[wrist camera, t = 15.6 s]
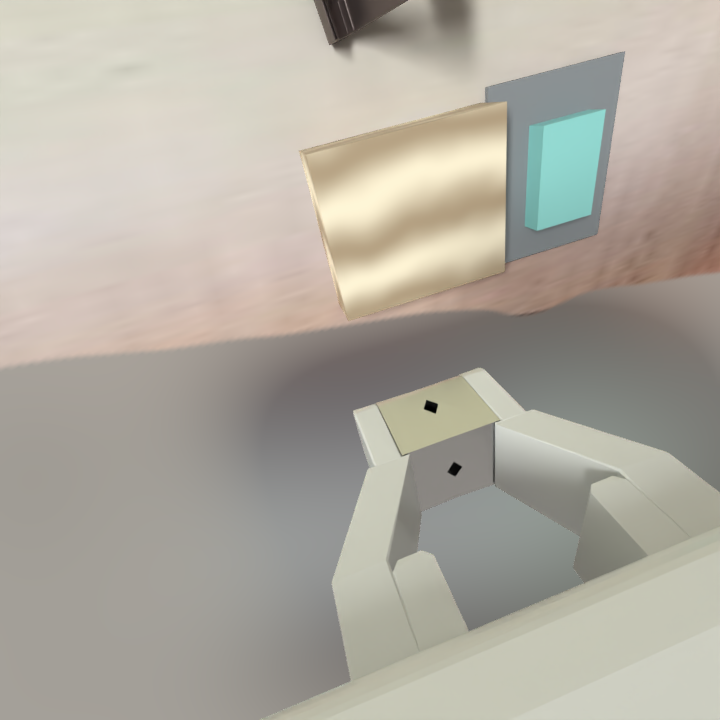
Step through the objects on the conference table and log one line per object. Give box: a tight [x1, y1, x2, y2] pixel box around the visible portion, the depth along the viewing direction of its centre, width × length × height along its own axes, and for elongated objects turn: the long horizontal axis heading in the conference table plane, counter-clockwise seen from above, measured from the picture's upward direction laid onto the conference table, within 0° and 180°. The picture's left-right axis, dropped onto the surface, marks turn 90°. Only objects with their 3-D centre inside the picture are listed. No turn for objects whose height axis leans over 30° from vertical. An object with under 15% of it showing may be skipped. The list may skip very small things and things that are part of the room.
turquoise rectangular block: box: [525, 109, 606, 231], centre depth 36 cm, size 9×6×2 cm, turn 12°
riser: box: [299, 101, 507, 321], centre depth 34 cm, size 14×16×4 cm
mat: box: [485, 52, 625, 263], centre depth 37 cm, size 16×13×1 cm
